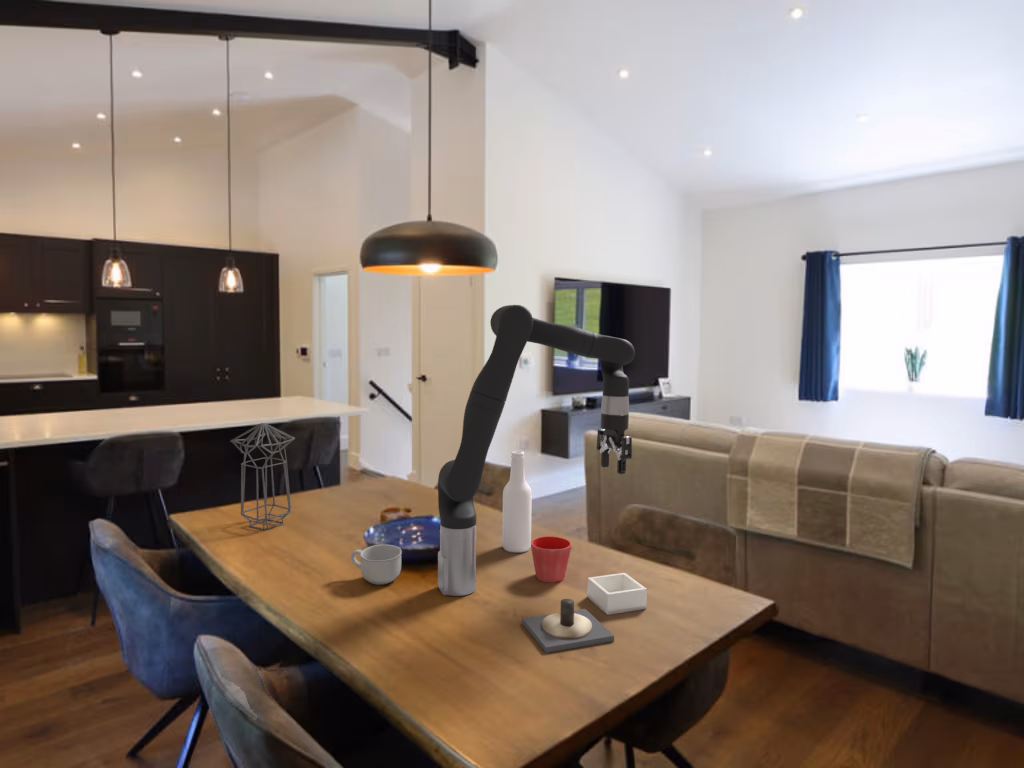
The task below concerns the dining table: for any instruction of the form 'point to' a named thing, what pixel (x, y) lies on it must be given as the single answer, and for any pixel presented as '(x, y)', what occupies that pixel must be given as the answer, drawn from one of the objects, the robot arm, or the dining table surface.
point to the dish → (616, 593)
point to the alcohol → (517, 508)
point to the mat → (556, 644)
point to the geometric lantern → (234, 441)
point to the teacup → (379, 563)
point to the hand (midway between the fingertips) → (612, 470)
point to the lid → (567, 622)
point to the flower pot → (550, 557)
